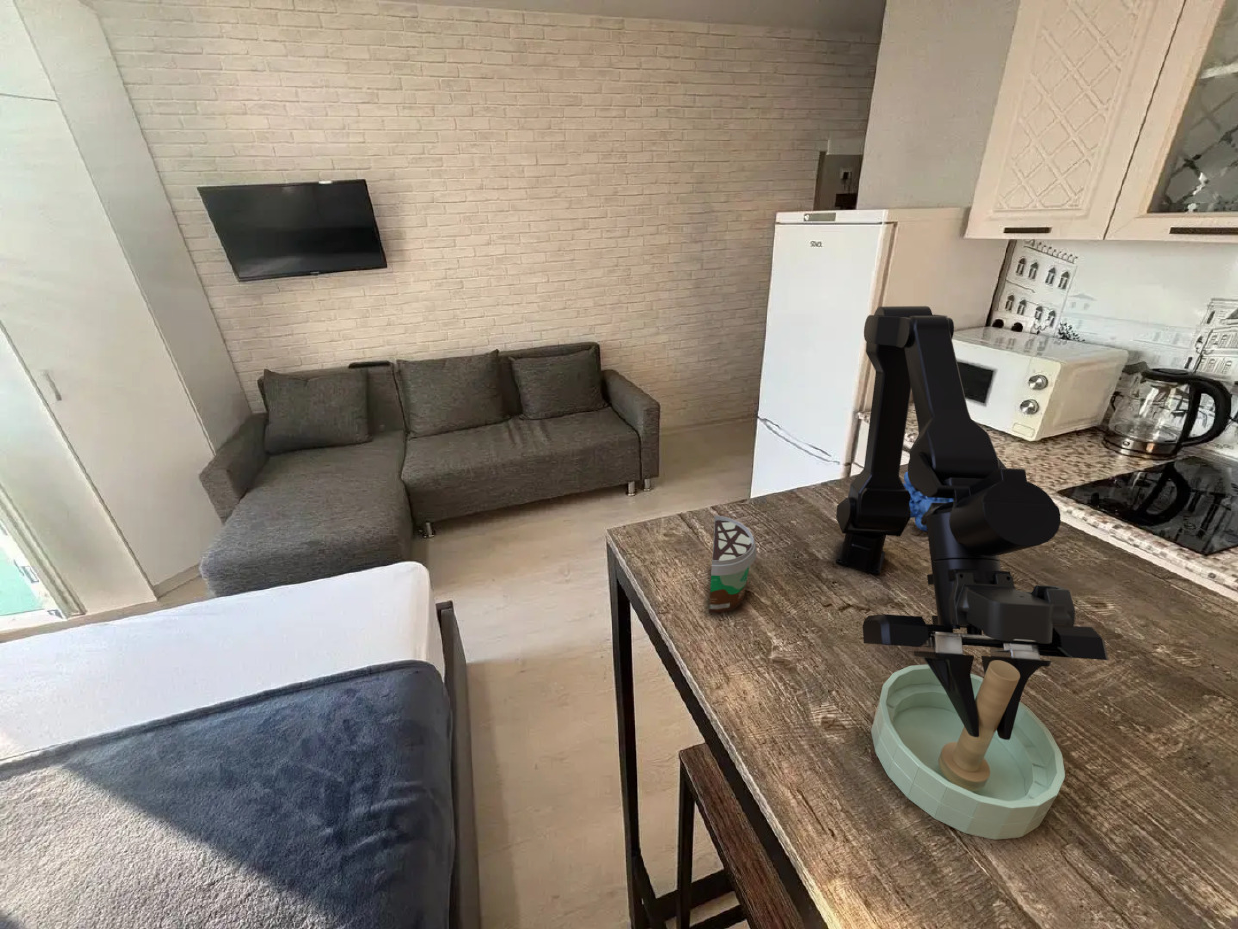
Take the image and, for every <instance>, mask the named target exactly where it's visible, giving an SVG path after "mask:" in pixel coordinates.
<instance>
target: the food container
mask: <svg viewBox="0 0 1238 929" xmlns="http://www.w3.org/2000/svg"><path fill="white" fill-rule="evenodd" d="M712 540H713V541H712V557H711V558H712V560H711V569H710V570H711V572H710V589H709V606H708V613H710V614H713V613H714V614H719V613H726V612H729V611H732V610H734V609H736V608H738V607H739V606H740V605H741V604H742V602H743V600H744V597H745V592H746V587H747V582H748V578H749V577H748V576H749V571H750V566H752V565H753V563H754V562H755V560H756V557H757V554H758V553H757V545H756V541H755V538H754V535H753V534H752V532H751V530H750V529H749V528H748V527H747V526H746V525H744V524H743V523H742V522H740V521H738V520H735V519H733V518H730V517H727V516H722V515H716V514H715V515H714V524H713V538H712Z"/></svg>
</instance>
